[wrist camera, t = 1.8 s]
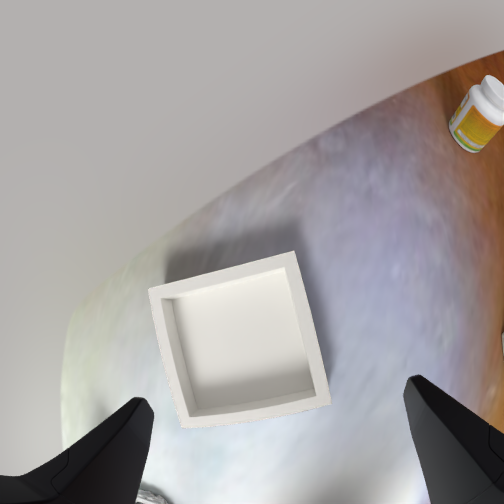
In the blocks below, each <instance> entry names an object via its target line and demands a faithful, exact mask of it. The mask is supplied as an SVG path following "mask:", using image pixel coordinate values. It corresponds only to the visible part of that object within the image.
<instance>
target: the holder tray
mask: <svg viewBox="0 0 504 504" xmlns="http://www.w3.org/2000/svg"><path fill="white" fill-rule="evenodd" d="M148 292H149V298H150V304H151V309H152V314H153V320H154V325H155V330H156V334H157V339H158V344H159V348H160V352H161V357H162V361H163V365H164V369H165V373H166V377H167V380H168V384H169V388H170V391H171V395H172V398H173V402H174V405H175V408H176V412H177V415H178V418H179V421H180V424H181V427H182V429H183V428H200V427H212V426H222V425H231V424H239V423H246V422H252V421H259V420H264V419H270V418H275V417H280V416H285V415H290V414H294V413H299V412H303V411H307V410H311V409H315V408H319V407H323V406H326V405H330V404H332V401H331V396H330V392H329V387H328V382H327V378H326V373H325V369H324V365H323V360H322V356H321V352H320V347H319V343H318V339H317V335H316V331H315V327H314V323H313V319H312V315H311V311H310V307H309V303H308V299H307V295H306V292H305V288H304V284H303V280H302V277H301V273H300V269H299V266H298V262H297V258H296V255H295V251H290V252H286V253H283V254H279V255H275V256H271V257H268V258H264V259H260V260H256V261H252V262H249V263H245V264H241V265H237V266H233V267H230V268H226V269H222V270H218V271H214V272H210V273H207V274H203V275H199V276H195V277H191V278H187V279H183V280H179V281H175V282H171V283H168V284H164V285H160V286H156V287H152V288H148Z"/></svg>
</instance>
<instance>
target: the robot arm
mask: <svg viewBox="0 0 504 504" xmlns="http://www.w3.org/2000/svg"><path fill="white" fill-rule="evenodd" d="M403 397H404V402H405V407H406V411H407V416H408V420H409V425H410V430H411V435H412V438H413V441H414V444H415V448H416V451H417V454H418V457H419V461H420V464H421V468H422V471H423V475H424V478H425V482H426V486H427V490H428V494H429V498H430V502H431V504H504V434H503V433H502V432H500V431H499V430H497V429H496V428H494V427H493V426H492V425H489V423H487V422H486V421H485V420H483V419H482V418H480V417H479V416H478V415H476V414H475V413H473V412H472V411H471V410H469V409H468V408H466V407H465V406H464V405H462V404H461V403H459V402H458V401H457V400H455V399H454V398H452V397H451V396H450V395H448V394H447V393H445V392H444V391H443V390H441V389H440V388H438V387H437V386H436V385H434V384H433V383H431V382H430V381H429V380H427V379H426V378H424V377H423V376H422V375H415V376H411V377H409V378H408V380H407V383H406V387H405V390H404V394H403ZM153 421H154V412H153V410H152V408H151V407H150V405H149V404H148V402H147V400H146V399H145V398H141V397H134V398H132V399H131V400H130V401H128V402H127V403H126V404H125V405H123V406H122V407H121V408H120V409H118V410H117V411H116V412H115V413H113V414H112V415H111V416H110V417H108V418H107V419H106V420H104V421H103V422H102V423H101V424H99V425H98V426H97V427H95V428H94V429H93V430H91V431H90V432H89V433H88V434H86V435H85V436H84V437H82V438H81V439H80V440H78V441H77V442H76V443H74V444H73V445H72V446H70V448H67V449H66V450H65V451H63V452H62V453H61V454H59V455H58V456H56V457H55V458H53V459H52V460H50V461H48V462H47V463H45V464H43V465H41V466H40V467H38V468H36V469H34V470H32V471H30V472H28V473H27V474H24V475H21V476H3V475H0V504H135V503H136V499H137V495H138V491H139V487H140V483H141V479H142V475H143V471H144V467H145V463H146V460H147V456H148V452H149V447H150V440H151V434H152V427H153Z"/></svg>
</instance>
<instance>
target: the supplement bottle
mask: <svg viewBox="0 0 504 504" xmlns="http://www.w3.org/2000/svg"><path fill="white" fill-rule="evenodd" d="M503 125H504V85H503V84H502V83H501V82H500V81H498V80H497V79H496V78H494V77H492V76H490V75H486V76H485V78H484V79H483V81H482V82H481V85H474V86H472V87H471V89H470V90H469V91H468V93H467V95H466V96H465V98H464V99H463V101H462V103H461V104H460V106H459V107H458V109H457V110H456V112H455V113H454V115H453V116H452V118H451V120H450V122H449V129H450V132H451V134H452V136H453V138H454V139H455V140H456V142H457V143H458V144H459V145H460V146H461V147H462V148H464V149H465V150H467V151H469V152H472V153H477V152H479V151H480V150H481V149H482V148H483V147H484V146H485V145H486V144H487V143H488V142H489V141H490V139H491V138H492V137H493V136H494V135H495V134H496V133H497V132H498V130H499V129H500V128H501V127H502V126H503Z"/></svg>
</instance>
